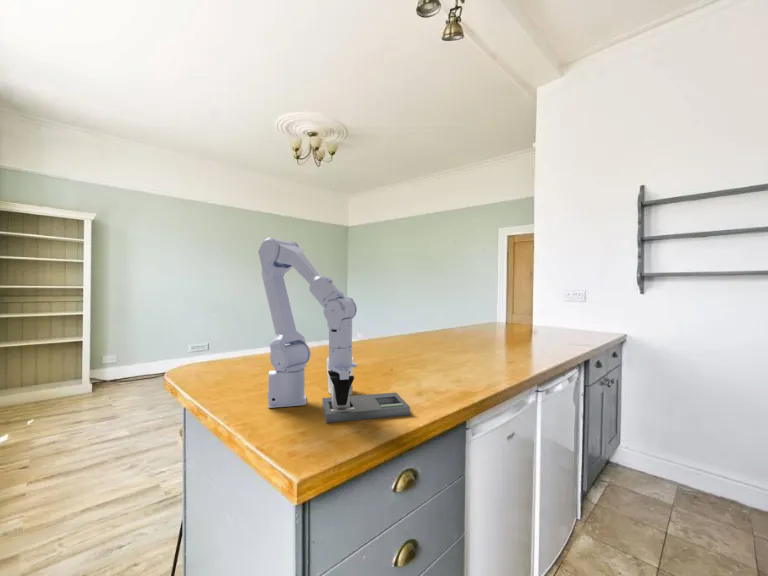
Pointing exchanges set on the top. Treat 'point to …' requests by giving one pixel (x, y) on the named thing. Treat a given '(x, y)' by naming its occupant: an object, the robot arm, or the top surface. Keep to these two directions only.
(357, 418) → the grey socket base
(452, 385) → the top surface
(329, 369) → the white cup
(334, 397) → the plug
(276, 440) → the top surface
